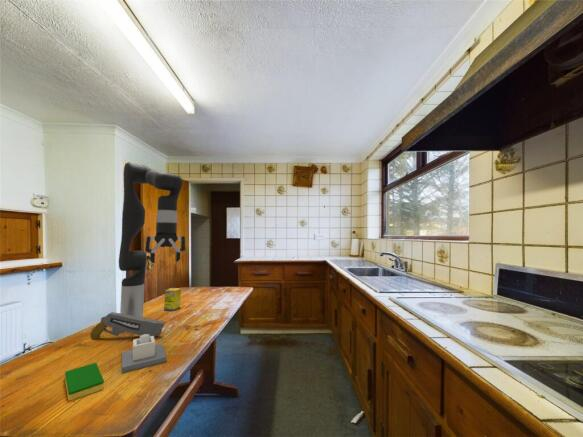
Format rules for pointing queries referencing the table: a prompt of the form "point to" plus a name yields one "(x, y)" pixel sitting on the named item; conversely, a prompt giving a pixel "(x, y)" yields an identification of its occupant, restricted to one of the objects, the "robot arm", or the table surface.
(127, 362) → the post stand
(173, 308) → the supplement box
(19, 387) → the table surface
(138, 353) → the ring
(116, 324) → the gun
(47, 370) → the table surface
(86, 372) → the dish sponge
